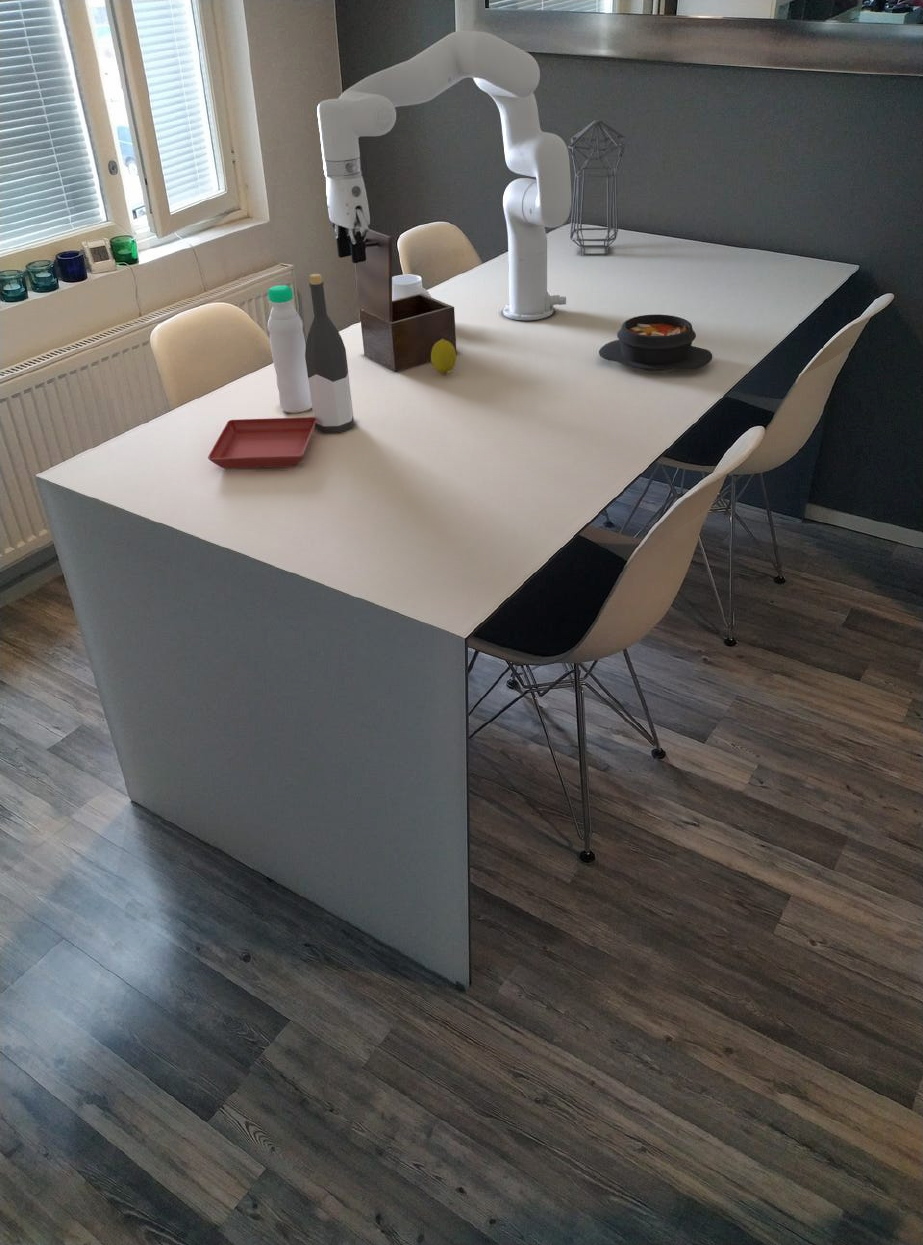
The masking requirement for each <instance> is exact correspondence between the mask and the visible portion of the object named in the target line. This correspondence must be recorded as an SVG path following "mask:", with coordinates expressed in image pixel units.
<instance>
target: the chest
mask: <svg viewBox="0 0 923 1245" xmlns="http://www.w3.org/2000/svg"><path fill="white" fill-rule="evenodd" d="M358 309H359V320H360V328H361V337H362V345H363V346H362V348H363V355H364V356H365V357H366V358H369V359H371V360H372V361H374V362H376V363H378V364H380V365H382V366H383V367H385V368H388V370H391V371H393V372H395V373H396V372H399V371H403V370H406V369H409V368H414V367H416V366H420V365H423V364H426V363H430V362H431V351H432V348H433V346H434V344H435V343H436V342H438V341H440V340H441V339H444V340H446V341H449V342H450V343H451V344H452V345H453V347H454V349H455V352H456V355H457V353H458V352H457V335H456V315H455V314H456V312H455V306H453V305H451V304H448V303H446V302H443V301H442V300H438V299H436V298H433V297H432V296H431V297H429V296H426V295H424V294H421V293H420V294H416V295H412V296H408V297H405V298H401V299H397V300H393V301H392V322H388V321H386V320H384V319H382V318H380V317H377V316H375V315H373V314H371V313H369V312H367V311H365V310H362V309H360V308H358Z"/></svg>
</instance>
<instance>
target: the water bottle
mask: <svg viewBox="0 0 923 1245" xmlns="http://www.w3.org/2000/svg"><path fill="white" fill-rule="evenodd" d="M267 295H268V300H269V303H270V304H271V305H272V308H271V310H270V313H269V318H268V320H267V330H268V333H269V342H270V350H271V356H272V362H273V366H274V367H273V368H274V371H275V375H276V378H275V379H276V387H277V390H278V397H279V398H278V400H279V406H280V408H281V410H283V411H284V412H285V413H291V414H297V413H305V412H307V411H309V410H310V409H311V408H312V402H311V395H310V388H309V381H308V374H307V367H306V360H305V349H306V339H305V334H304V330H303V328H304V323H303V320H302V318H301V316H300V314H299V313H298V312H297V310H296V308H295V307H294V306H293V304H292V303H293V301H294V299H293V298H294V294H293V289H292V287H291V286H289V285H285V284H284V285H283V284H282V285H280V284H279V285H274V286H272V287H270V288H269V289H268V290H267Z"/></svg>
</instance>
